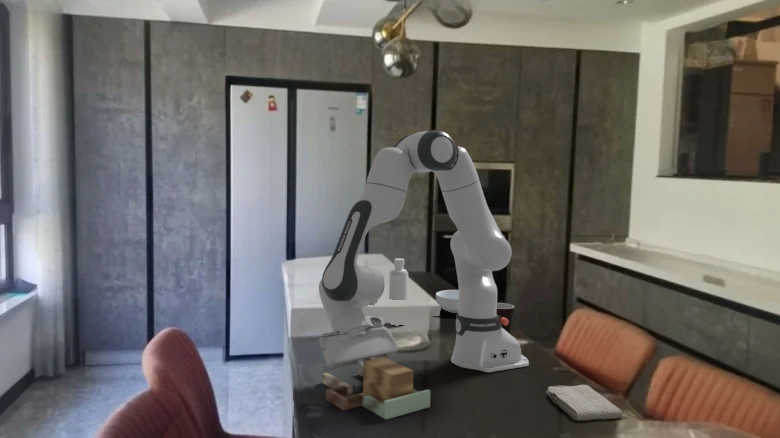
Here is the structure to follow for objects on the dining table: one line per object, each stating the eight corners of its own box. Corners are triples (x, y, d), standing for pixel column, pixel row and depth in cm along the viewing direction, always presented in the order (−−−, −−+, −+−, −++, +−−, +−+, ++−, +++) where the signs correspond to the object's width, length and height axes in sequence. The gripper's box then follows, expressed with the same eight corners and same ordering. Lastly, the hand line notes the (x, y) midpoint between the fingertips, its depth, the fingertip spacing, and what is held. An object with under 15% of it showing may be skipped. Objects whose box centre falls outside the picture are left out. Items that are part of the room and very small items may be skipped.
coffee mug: (515, 338, 209) (516, 309, 208) (489, 337, 209) (490, 308, 208) (509, 329, 221) (510, 301, 220) (484, 328, 221) (485, 300, 220)
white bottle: (390, 326, 221) (391, 256, 218) (387, 321, 227) (388, 253, 225) (408, 326, 222) (410, 256, 219) (405, 321, 228) (407, 253, 226)
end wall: (383, 418, 142) (383, 400, 142) (427, 405, 150) (427, 389, 149) (386, 419, 141) (386, 402, 141) (430, 407, 149) (430, 390, 149)
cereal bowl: (433, 315, 238) (433, 297, 237) (437, 306, 254) (437, 288, 254) (478, 318, 235) (479, 299, 234) (479, 308, 251) (480, 291, 251)
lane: (304, 386, 160) (304, 377, 160) (378, 370, 174) (378, 361, 174) (364, 423, 139) (364, 412, 139) (443, 401, 153) (443, 391, 153)
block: (363, 396, 154) (363, 361, 154) (382, 392, 158) (383, 357, 157) (392, 413, 145) (393, 375, 144) (412, 407, 148) (413, 370, 148)
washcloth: (585, 392, 162) (585, 380, 162) (624, 420, 145) (625, 407, 144) (542, 395, 160) (543, 383, 160) (577, 424, 142) (578, 410, 142)
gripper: (321, 328, 155) (341, 378, 148) (387, 317, 167) (409, 363, 160) (312, 341, 159) (331, 390, 152) (377, 330, 171) (398, 375, 164)
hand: (372, 376), depth 156 cm, fingers closed, pressing on block
